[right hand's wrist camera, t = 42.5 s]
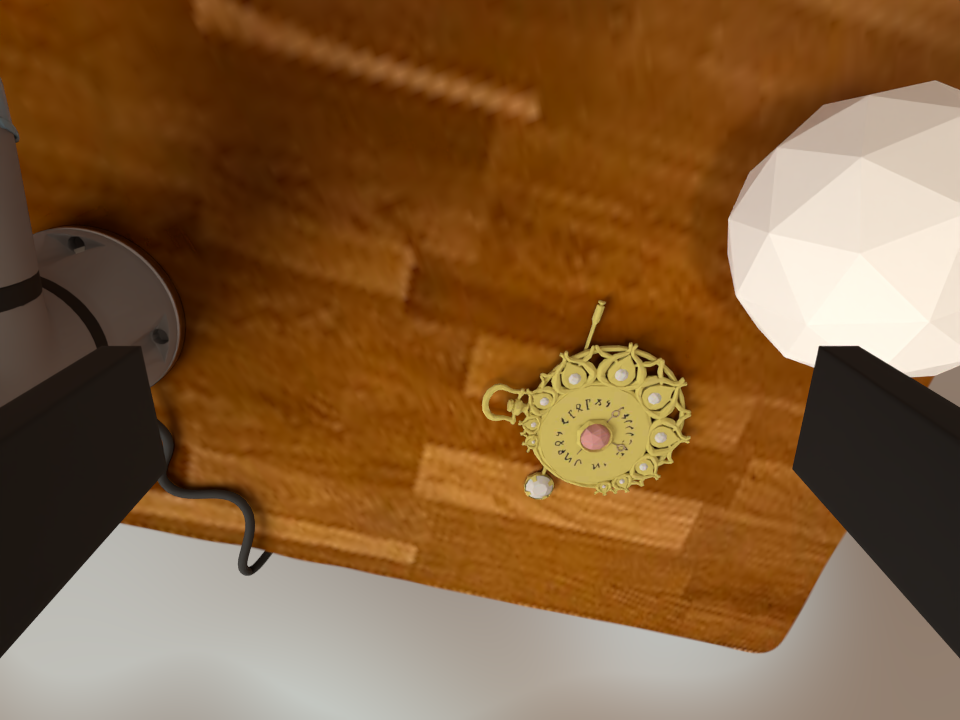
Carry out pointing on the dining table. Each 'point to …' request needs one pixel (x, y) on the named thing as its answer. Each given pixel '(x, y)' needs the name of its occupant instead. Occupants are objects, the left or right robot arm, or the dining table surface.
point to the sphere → (858, 232)
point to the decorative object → (598, 419)
